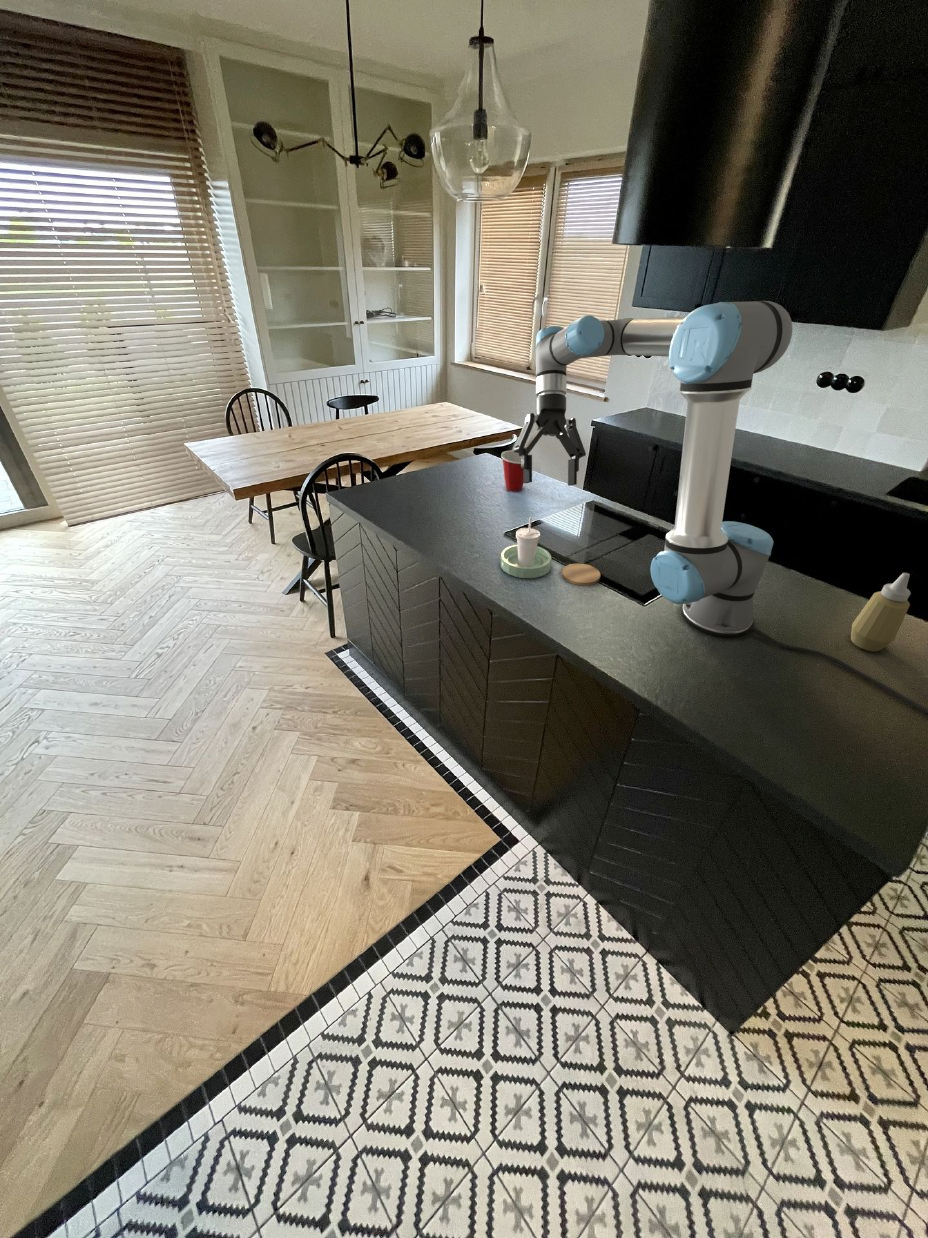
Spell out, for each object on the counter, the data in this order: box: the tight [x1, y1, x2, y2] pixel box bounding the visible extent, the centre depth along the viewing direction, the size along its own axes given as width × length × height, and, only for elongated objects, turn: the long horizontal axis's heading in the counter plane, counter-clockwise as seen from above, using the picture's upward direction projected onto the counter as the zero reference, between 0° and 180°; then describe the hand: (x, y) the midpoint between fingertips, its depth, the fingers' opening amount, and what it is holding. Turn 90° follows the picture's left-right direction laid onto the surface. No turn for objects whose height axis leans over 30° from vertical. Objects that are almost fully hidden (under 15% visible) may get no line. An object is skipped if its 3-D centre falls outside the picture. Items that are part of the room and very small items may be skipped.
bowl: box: [500, 544, 553, 579], centre depth 143 cm, size 13×13×3 cm
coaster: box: [561, 563, 601, 586], centre depth 140 cm, size 10×10×1 cm
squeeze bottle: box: [850, 572, 912, 652], centre depth 112 cm, size 8×8×18 cm
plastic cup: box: [500, 449, 531, 492], centre depth 185 cm, size 11×11×12 cm
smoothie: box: [515, 516, 541, 567], centre depth 139 cm, size 6×6×14 cm
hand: (550, 483), depth 134 cm, fingers open, 13 cm apart
